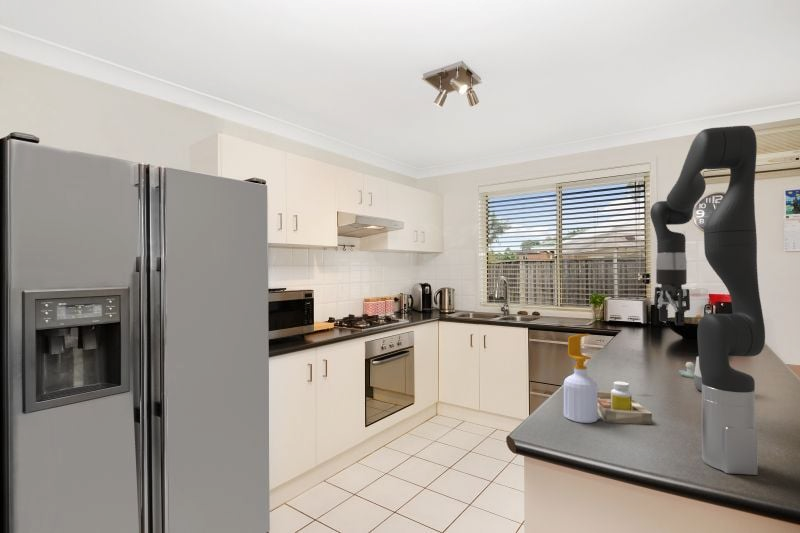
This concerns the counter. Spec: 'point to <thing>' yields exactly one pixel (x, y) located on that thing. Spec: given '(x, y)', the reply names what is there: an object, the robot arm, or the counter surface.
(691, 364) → the pacifier
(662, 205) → the robot arm
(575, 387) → the soap bottle
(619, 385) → the supplement bottle
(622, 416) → the socket block
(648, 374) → the counter surface
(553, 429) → the counter surface
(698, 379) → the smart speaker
